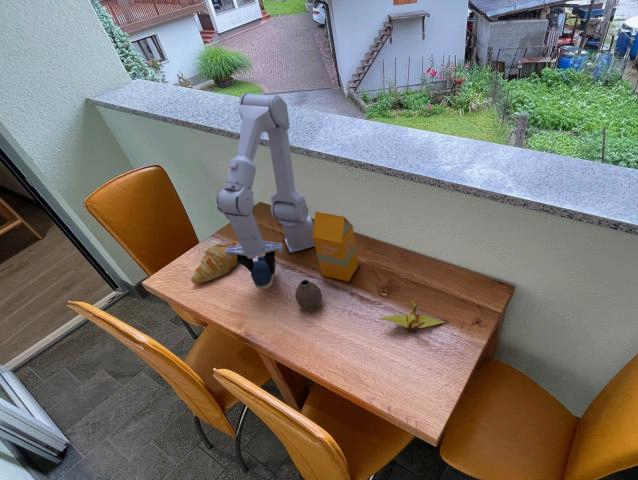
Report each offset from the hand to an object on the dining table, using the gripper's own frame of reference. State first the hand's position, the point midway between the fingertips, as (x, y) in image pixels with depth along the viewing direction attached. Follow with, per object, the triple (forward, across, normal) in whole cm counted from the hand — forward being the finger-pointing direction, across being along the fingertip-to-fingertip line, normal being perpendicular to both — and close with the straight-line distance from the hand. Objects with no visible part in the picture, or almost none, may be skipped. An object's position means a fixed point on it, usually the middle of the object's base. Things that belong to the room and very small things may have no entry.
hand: (264, 272), depth 99 cm
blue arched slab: (+1, 0, 0) cm, 1 cm away
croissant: (+5, -16, +10) cm, 20 cm away
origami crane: (+5, +40, -20) cm, 46 cm away
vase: (+5, +13, -10) cm, 17 cm away
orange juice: (+5, +21, +3) cm, 22 cm away
